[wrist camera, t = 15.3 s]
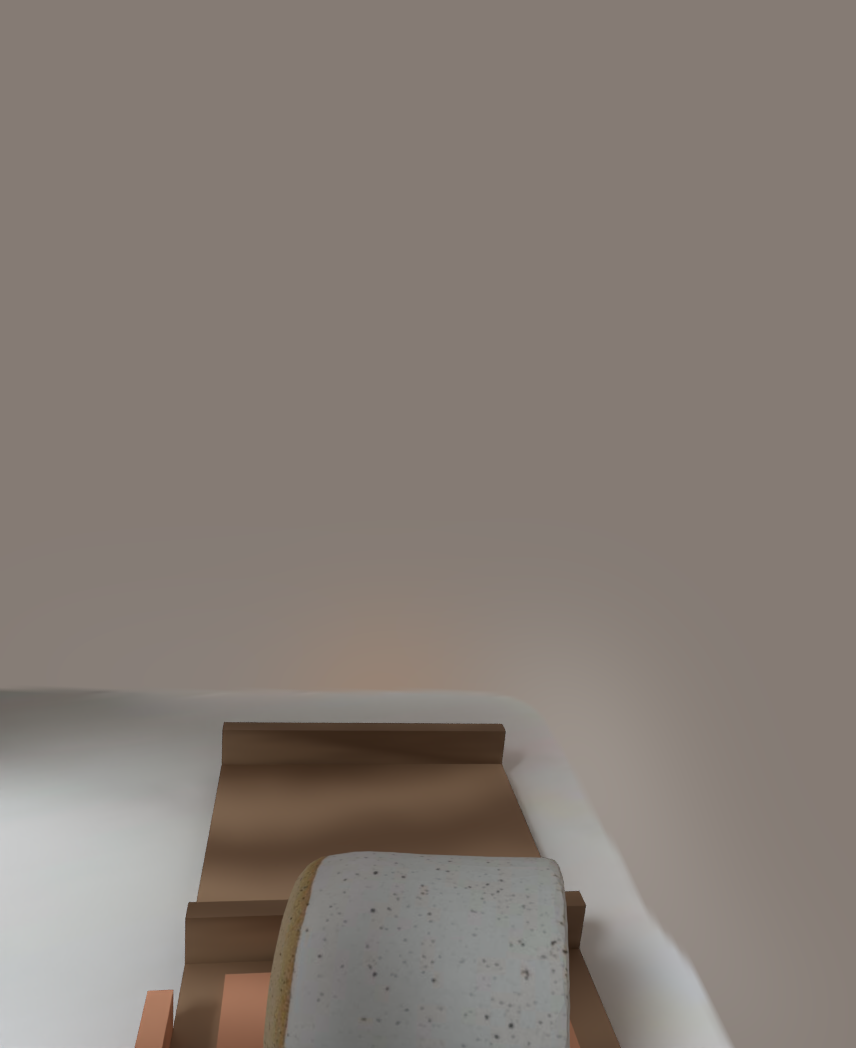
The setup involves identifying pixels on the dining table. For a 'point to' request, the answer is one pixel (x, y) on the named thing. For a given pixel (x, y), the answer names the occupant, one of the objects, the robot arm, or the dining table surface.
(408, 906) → the ceramic mug
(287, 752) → the rack
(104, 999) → the dining table surface
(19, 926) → the dining table surface
